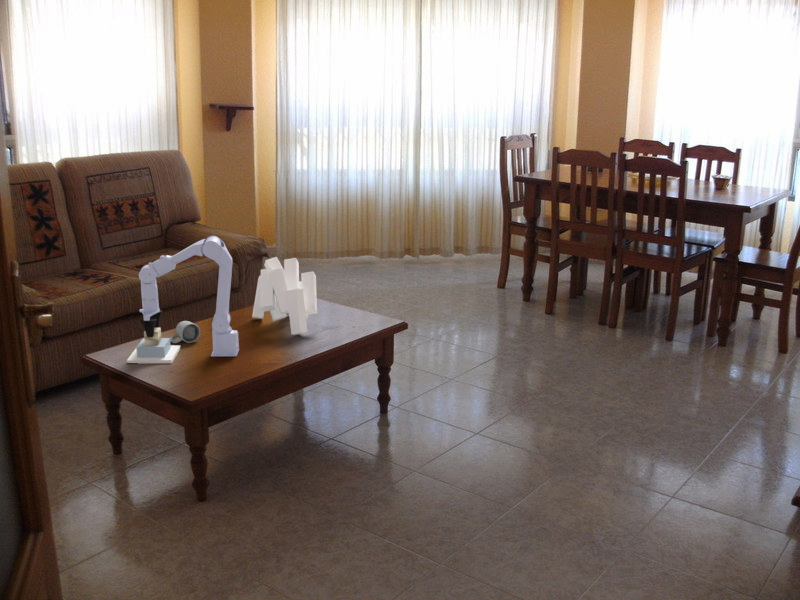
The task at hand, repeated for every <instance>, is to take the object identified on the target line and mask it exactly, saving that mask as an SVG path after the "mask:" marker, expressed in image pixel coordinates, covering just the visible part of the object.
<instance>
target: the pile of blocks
mask: <svg viewBox="0 0 800 600" xmlns="http://www.w3.org/2000/svg"><path fill="white" fill-rule="evenodd" d="M299 265H300V263H299V261H298V259H297V257H291V258H285V259H284V260H283V266H282V263H281V262H280V260H279V258H278V256H275V257H271V258H269V259H265V261H264V265H263V266H264V268H262V269H260V275H259V276H258V279H257V283H256V284H257V285H256V291H255V297H254V303H253V309H252V315H251V317H252V318H253V319H259V320H260V319H262V320H263V319H264V315H265V312H270V315H271V317H272V318H271V319H272V321H273V322H276V321H280V320H283V319H285V318H286V317H287V314H288V316H289V324H290V325H289V326H290V335H303V334H307V333H308V332H309V331H308V323H307V320H309V315H315V314H316V315H317V314H318V299H317V296H318V295H317V275H316V273H315V272H314V271H313V270H312V271H307V272H306V271H305V272H301V278H300V276H299V275H300V267H299ZM300 279H301V280H300Z"/></svg>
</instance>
